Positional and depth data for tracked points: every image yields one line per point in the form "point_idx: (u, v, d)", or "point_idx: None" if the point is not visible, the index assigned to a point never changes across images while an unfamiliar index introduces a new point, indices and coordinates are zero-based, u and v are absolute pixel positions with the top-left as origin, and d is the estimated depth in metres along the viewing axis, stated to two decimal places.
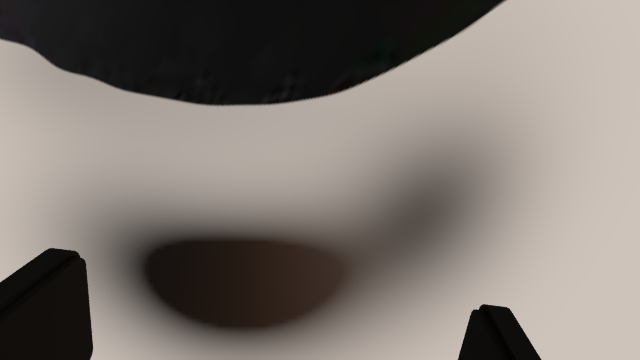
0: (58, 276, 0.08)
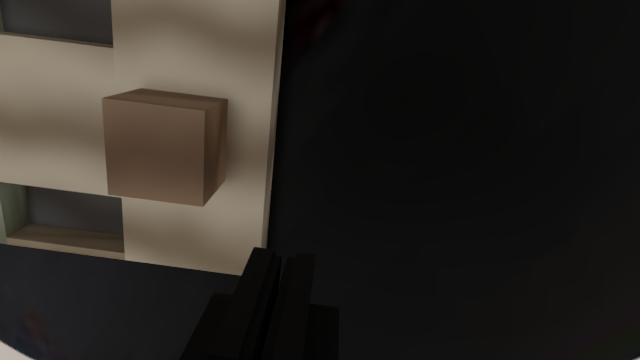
0: (276, 271, 0.10)
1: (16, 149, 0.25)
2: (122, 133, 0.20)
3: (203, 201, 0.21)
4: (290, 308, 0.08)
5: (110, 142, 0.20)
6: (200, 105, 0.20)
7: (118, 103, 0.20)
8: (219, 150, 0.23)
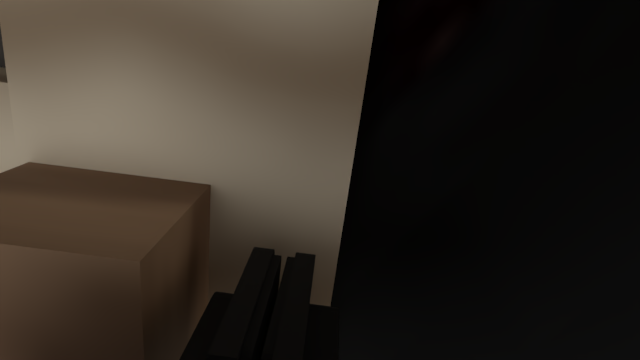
0: (276, 271, 0.10)
1: None
2: None
3: None
4: (290, 308, 0.08)
5: None
6: (138, 227, 0.08)
7: None
8: (193, 296, 0.11)
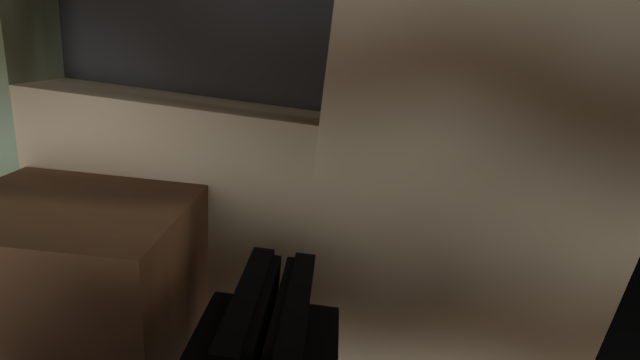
0: (276, 271, 0.10)
1: None
2: None
3: None
4: (290, 308, 0.08)
5: None
6: (136, 228, 0.08)
7: None
8: (193, 296, 0.11)
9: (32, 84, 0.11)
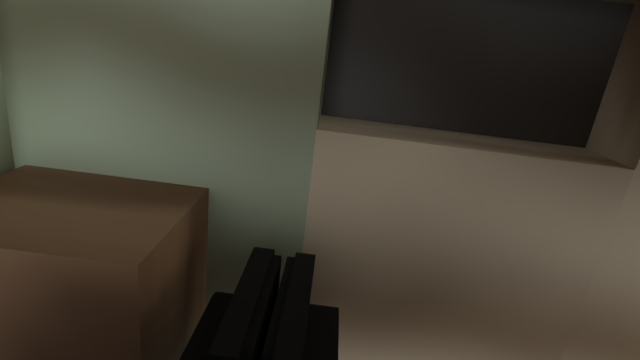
0: (276, 271, 0.10)
1: (342, 350, 0.12)
2: None
3: None
4: (290, 308, 0.08)
5: None
6: (135, 231, 0.08)
7: None
8: (191, 300, 0.11)
9: (329, 127, 0.11)
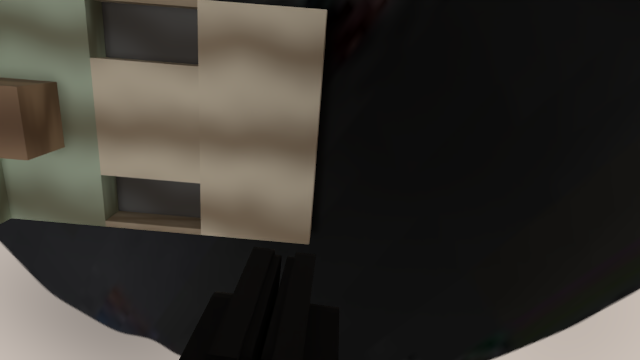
0: (276, 271, 0.10)
1: (117, 148, 0.32)
2: None
3: (27, 155, 0.28)
4: (290, 308, 0.08)
5: None
6: (20, 84, 0.28)
7: None
8: (50, 120, 0.30)
9: (97, 57, 0.30)
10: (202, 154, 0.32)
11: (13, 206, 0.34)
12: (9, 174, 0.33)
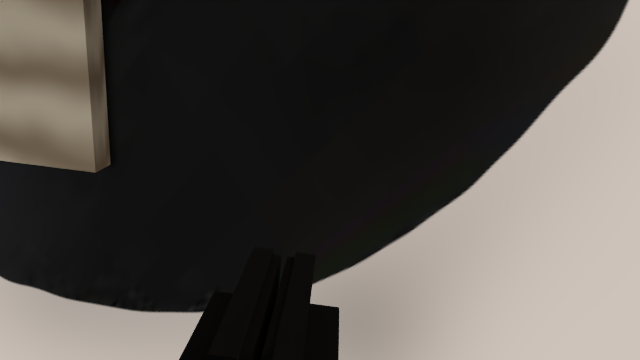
0: (276, 271, 0.10)
1: None
2: None
3: None
4: (290, 308, 0.08)
5: None
6: None
7: None
8: None
9: None
10: None
11: None
12: None
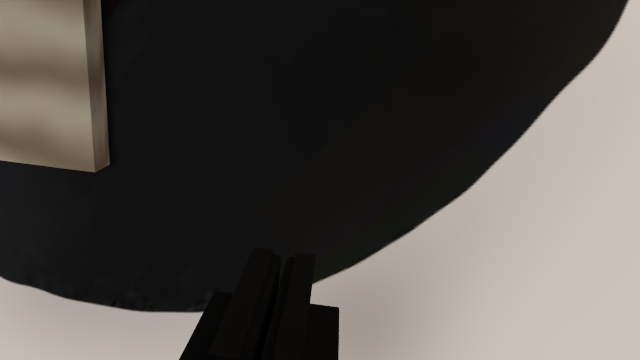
0: (276, 271, 0.10)
1: None
2: None
3: None
4: (290, 308, 0.08)
5: None
6: None
7: None
8: None
9: None
10: None
11: None
12: None
